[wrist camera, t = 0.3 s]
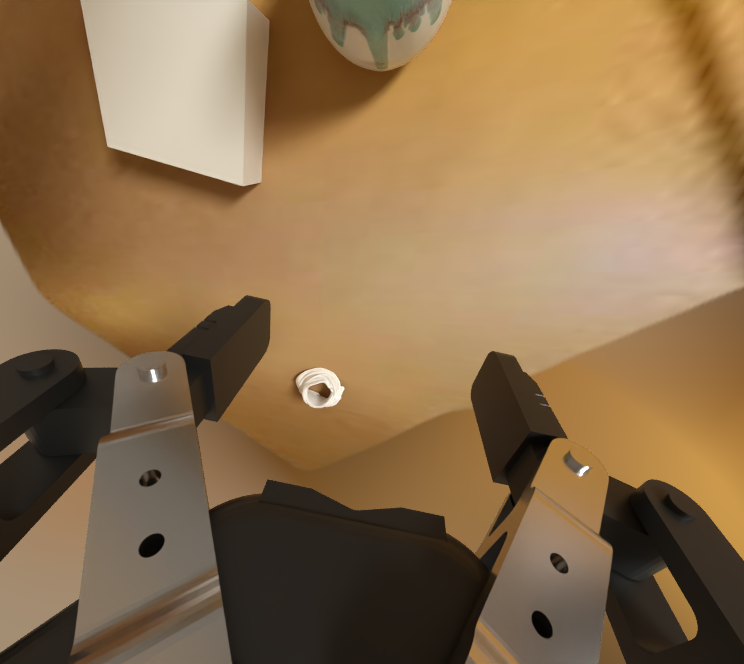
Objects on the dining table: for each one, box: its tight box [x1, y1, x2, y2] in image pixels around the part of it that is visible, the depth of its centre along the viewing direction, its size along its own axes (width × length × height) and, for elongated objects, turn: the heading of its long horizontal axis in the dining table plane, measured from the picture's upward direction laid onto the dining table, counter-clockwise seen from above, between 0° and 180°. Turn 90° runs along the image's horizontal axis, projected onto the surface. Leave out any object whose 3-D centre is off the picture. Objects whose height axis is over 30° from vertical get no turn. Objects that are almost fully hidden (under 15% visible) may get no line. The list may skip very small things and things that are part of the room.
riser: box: [80, 0, 270, 186], centre depth 29 cm, size 14×14×5 cm
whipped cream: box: [296, 368, 344, 408], centre depth 49 cm, size 8×7×5 cm
